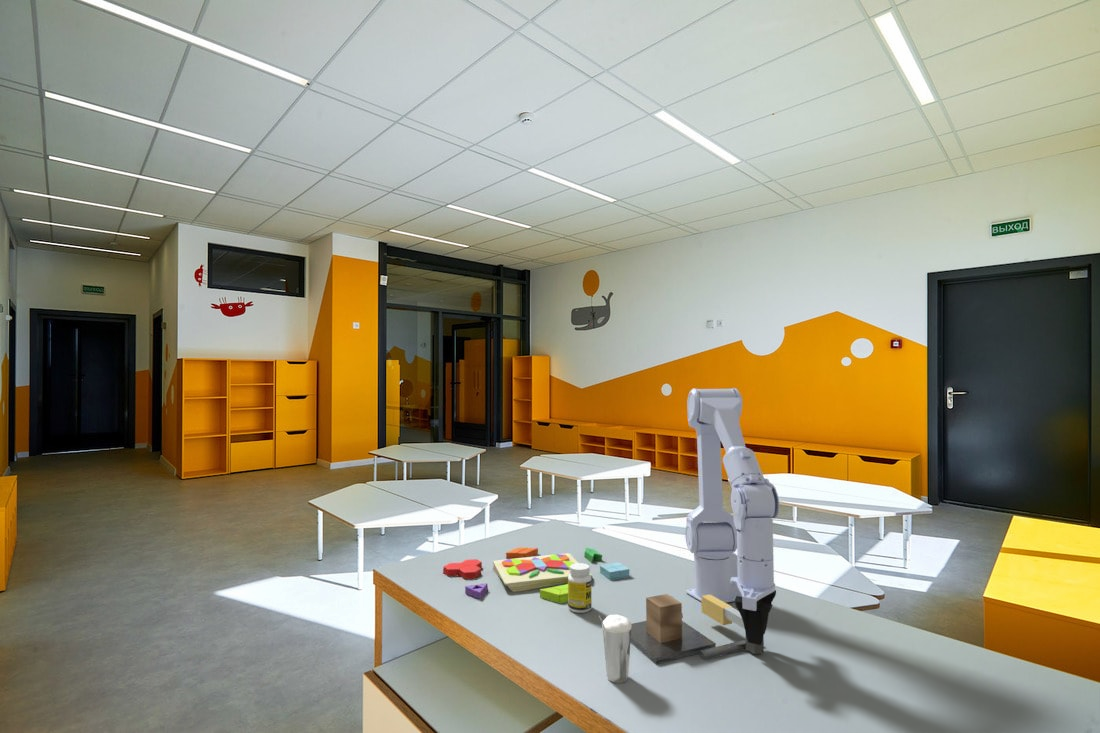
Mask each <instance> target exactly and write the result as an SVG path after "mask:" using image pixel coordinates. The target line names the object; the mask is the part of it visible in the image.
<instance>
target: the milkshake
mask: <svg viewBox="0 0 1100 733" xmlns="http://www.w3.org/2000/svg"><path fill="white" fill-rule="evenodd" d="M598 617H599V620H600V622H601V628H602V635H603V644H604V646H603V647H604V656H605V668H606V669H605V670H606V677H607V680H608V681H609V682H612V683H614V684H615V683H616V684H622V683H626V682H627V681H628V679H629V671H630V670H629V669H630V657H631V656H630V655H631V642H630V641H631V630H632V624H633V623H632V622H631V621H630V619H628V617H626V616H622V615H621V614H620V615H619V614H610V615H607V616H606V617H605V618H604V619H602V618H601V615H598Z"/></svg>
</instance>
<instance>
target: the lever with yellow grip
mask: <svg viewBox="0 0 1100 733" xmlns="http://www.w3.org/2000/svg"><path fill="white" fill-rule="evenodd" d="M701 599H702V602H701V613H702V614H704V615H706V616H707V617H709V618H711V620H712V619H713V620H714V621H716V622H717V623H719V624H720V625H722V626H727V625H732V624H733V623H734V624H736V625H738V626H739V627H740V628H741V629H744V630H745V628H744V624H743V620H742V617H741V615H740V612H739V610H738V609H737V608H735V607H733V606H732V605H730V604H728V603H725V602H723V601H721V600H719V599H718V598H716V597H714V596H712V595H710V594H709V595H704V596H701ZM764 636H765V635H764ZM764 636H763V641H762V644H761V645H758V644H753V643H749V642H748V640H747V637H746V632H745V640H746V649H745V650H747V651H749V652H750V653H752V654H753V655H757V654H761V653H764V651H765V648H764V646H765V645H764V643H765V642H764Z"/></svg>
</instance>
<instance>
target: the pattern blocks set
mask: <svg viewBox="0 0 1100 733" xmlns="http://www.w3.org/2000/svg"><path fill="white" fill-rule="evenodd" d="M538 554H539V548H538V547H519V546H518V547H516V548H514V549H512V550H508V551H507V552H506V553H505V558H506V559H497V560H493V562H492V563H493V565H492V571H494V573H495V574H496V575H497V577H499V579H500V580H501V581H502V583H503V584H504V586H506V587H508V589H509V590H510V591H511V592H513V593H518V592H523V591H524V592H525V591H530V590H531V591H532V590H535V589H539V598H540V599H544V600H547V601H551V602H553V603H554V602H555V603H558V604H561V603H566V602H567V603H568V577H569V575H570V565H572V564H576V563H579V562H578V560H576V558H575V557H574V556H573V555H572V554H571V553H569V552H568V553H567V552H566V553H557V554H547V555H546V554H545V555H538ZM583 554H584V558H585V559H586V560H587V561H588V562H589V563H590V564H593V562H594V561H597V562H600V563H603V554H602V553H600V552H598V551H597V550H595V549H594V548H589V547H585V551H584V553H583ZM482 565H483V563H482V560H479V559H478V558H473V559H464V560H463V561H461V562H451V563H450V562H449V563H448V564H446V565H444V566H443V570H442V574H444V575H446V576H448V577H453V576H460V577H461V578H463V579H465V580H467V579H468V580H469V579H470V580H471V579H477V578H478V577H480V576H481V575H482V568H483V566H482ZM599 570H600V571H599V574H601V575H602V576H604V577H605V578H606V579H607V580H609V581H612V580H618V579H625V578H630V568H629V567H627V566H626V565H624V564H622V563H621V562H612V563H607V564H606V563H604V564H601V565H599ZM589 575H590V576H591V580H593V579H594V578H593V574H592V573H590V574H589ZM464 588H465V590H464V591H465V595H469V596H471V597H474V598H476V599H478V600H482V598H483V597H484V596H485V595H487V593H488V592H489V589H488V588H489V586H488V583H479V584H473V585H472V584H471V585H465V586H464Z"/></svg>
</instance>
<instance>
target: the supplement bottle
mask: <svg viewBox="0 0 1100 733" xmlns="http://www.w3.org/2000/svg"><path fill="white" fill-rule="evenodd" d="M589 574H591V571H590V565H588V564H587V563H582V562H581V563H580V562H578V563H576V564H572V565H570V575H569V577H568V583H567V584H568V601H567V604H568V605H567V607H568V610H569V611H571V612H573V613H578V614H583V613H588V612H590V611H591V610H592V607H593V606H592V603H593V602H592V600H593V599H592V579H591V576H590V575H589Z"/></svg>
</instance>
